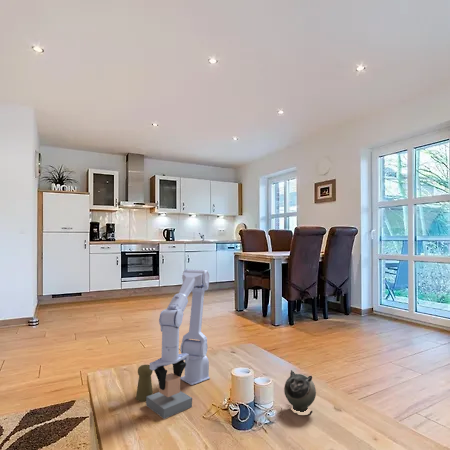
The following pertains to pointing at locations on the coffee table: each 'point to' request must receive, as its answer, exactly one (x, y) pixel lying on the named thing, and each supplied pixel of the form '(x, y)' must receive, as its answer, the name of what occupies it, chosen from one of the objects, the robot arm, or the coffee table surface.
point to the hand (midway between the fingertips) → (169, 386)
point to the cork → (144, 383)
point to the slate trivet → (168, 403)
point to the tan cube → (171, 385)
